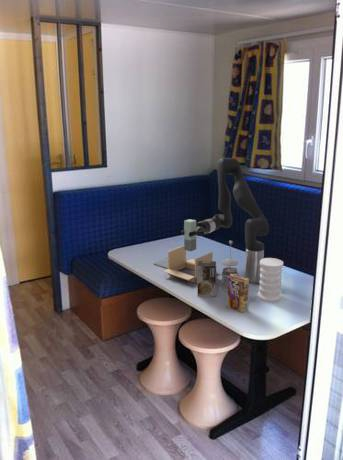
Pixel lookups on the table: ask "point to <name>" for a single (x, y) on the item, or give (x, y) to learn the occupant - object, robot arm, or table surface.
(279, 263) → the decorative container
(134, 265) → the table surface
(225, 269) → the french press
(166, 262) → the mat
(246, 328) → the table surface
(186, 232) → the box
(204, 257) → the carton
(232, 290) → the candy box
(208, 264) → the coffee box
